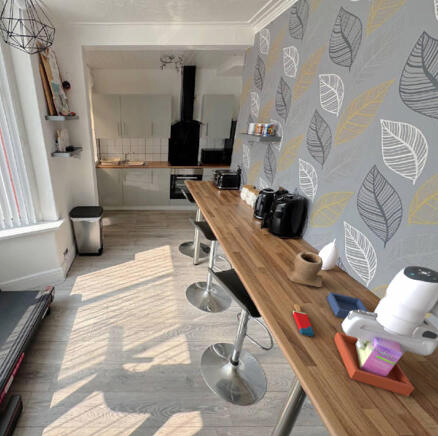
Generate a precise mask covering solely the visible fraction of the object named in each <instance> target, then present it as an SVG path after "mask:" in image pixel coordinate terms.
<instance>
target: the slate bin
mask: <svg viewBox="0 0 438 436" xmlns="http://www.w3.org/2000/svg"><path fill="white" fill-rule="evenodd" d="M326 300H327V301H328V304H329V306H330V307H331V309H332V312H333V313H334V315H335V317H337V318H341V319H344V320H345V319H346V317H347V316H348V314H349V312H350V311H353V310H363V311H367V312H369V310H368V308H367V307H366V305H365V304H364V303H363V301H362V300H361V298H360V297H359V298H358V297H355V296H354V297H353V296H349V295H345V294H341V293H336V292H331V291H330V292H329V293H328V295H327V298H326Z"/></svg>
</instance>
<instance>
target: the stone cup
mask: <svg viewBox="0 0 438 436" xmlns="http://www.w3.org/2000/svg"><path fill="white" fill-rule="evenodd" d="M293 265H294V269H288V270H287V271H286V276H287V278H288V279H289V280H290V281H291V282H294V283H297V284H302V285H307V286H311V287H318V288H322V286H323V280H324V276H323V275H322V274H318V273H320V271H322V269H321V268H322V266H323V260H322V258H321V257H320V256H319V254H317V253H315V252H310V251H309V252H307V251H302V252H299V253H297V255H296V256H295V258H294V264H293Z"/></svg>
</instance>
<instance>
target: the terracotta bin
mask: <svg viewBox="0 0 438 436" xmlns="http://www.w3.org/2000/svg"><path fill="white" fill-rule="evenodd" d="M333 340H334V343H335V345H336V348H337V351H338V352H339V355H340V357H341V359H342V362H343V364H344V366H345V368H346V371H347V373H348V375H349V378H350V379H351V380H354V381H357V382H360V383H364V384H367V385H371V386H373V387H377V388H381V389H383V390H386V391H390V392H393V393H395V394H396V393H397V394H400V395H403V396H406V397H409V396H410V394H411V393H413V391H414V390H415V387H414V385H413V384H412V382H411V380H409V378H408V376H407V375H406V373H405V372H404V370H403V368H402V367H401V366H400V364H399V362H397V363H396V364H395V365H394V367H393V368H392V369H391V371H390V372H389V373H388V375H387V376H386V377H381V376H378V375H375V374H371V373H368V372H365V371H363V370H360V366H359V360H358V355H357V350H356V345H355V344H356V343H357V341H358V339H357V338H355V337H351V336H348V335H346V333H345V332H340V331H337V332H336V334H335V336H334V337H333Z"/></svg>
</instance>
